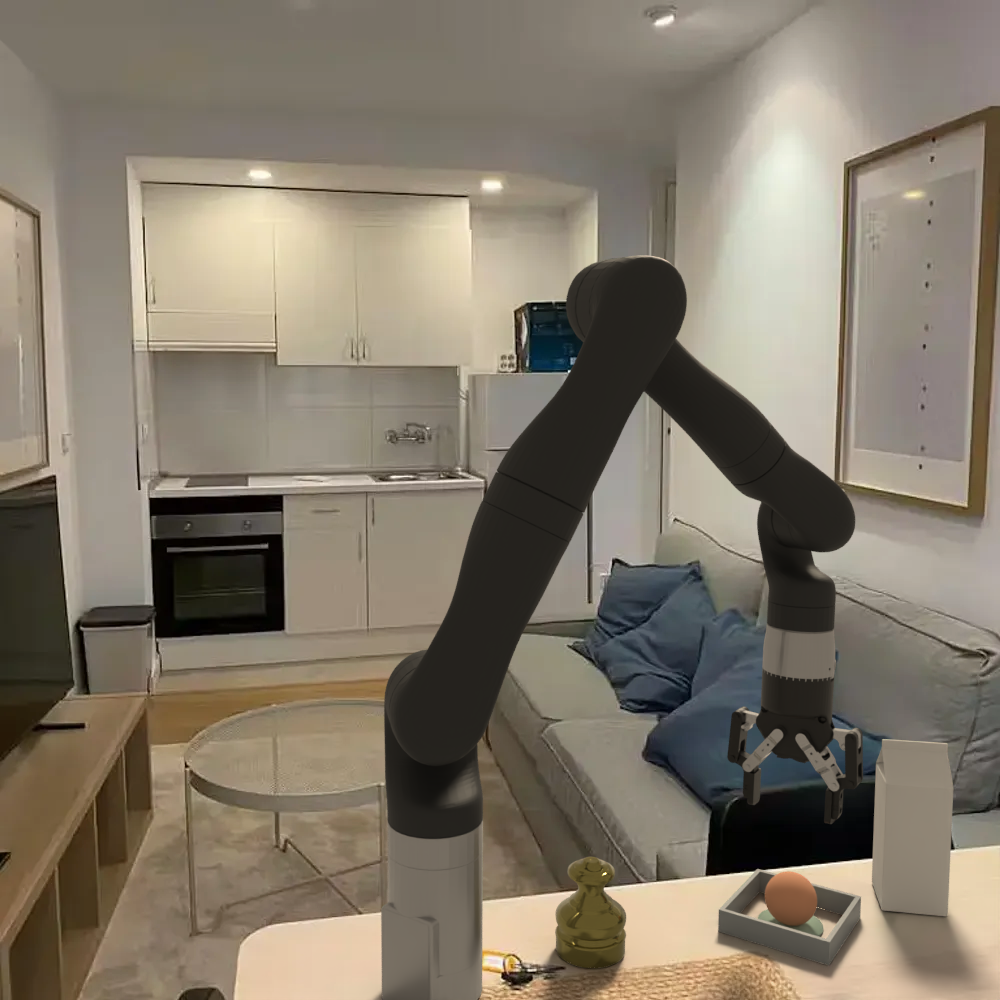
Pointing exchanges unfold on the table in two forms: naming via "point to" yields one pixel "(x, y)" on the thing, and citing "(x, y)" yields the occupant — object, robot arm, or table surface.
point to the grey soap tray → (787, 937)
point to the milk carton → (912, 827)
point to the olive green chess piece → (590, 918)
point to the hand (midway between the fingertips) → (791, 811)
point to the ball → (790, 898)
